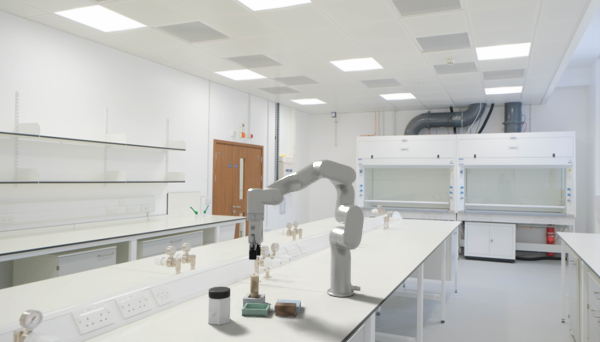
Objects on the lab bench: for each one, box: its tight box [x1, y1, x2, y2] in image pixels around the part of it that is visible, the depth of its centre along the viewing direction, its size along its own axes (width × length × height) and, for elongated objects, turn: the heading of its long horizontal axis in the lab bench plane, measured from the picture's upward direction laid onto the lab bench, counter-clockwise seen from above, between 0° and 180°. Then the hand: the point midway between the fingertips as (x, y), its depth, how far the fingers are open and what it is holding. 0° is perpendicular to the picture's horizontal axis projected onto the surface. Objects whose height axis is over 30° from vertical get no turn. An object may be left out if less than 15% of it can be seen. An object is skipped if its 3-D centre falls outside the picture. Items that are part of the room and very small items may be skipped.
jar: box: [207, 286, 231, 326], centre depth 155 cm, size 9×8×12 cm
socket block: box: [242, 292, 266, 308], centre depth 176 cm, size 8×8×4 cm
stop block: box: [274, 301, 297, 317], centre depth 164 cm, size 8×4×4 cm, turn 85°
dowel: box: [249, 275, 260, 298], centre depth 177 cm, size 4×4×12 cm
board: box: [273, 299, 302, 314], centre depth 171 cm, size 10×9×3 cm
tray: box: [241, 303, 271, 317], centre depth 166 cm, size 10×8×2 cm
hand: (254, 257), depth 177 cm, fingers open, 8 cm apart
